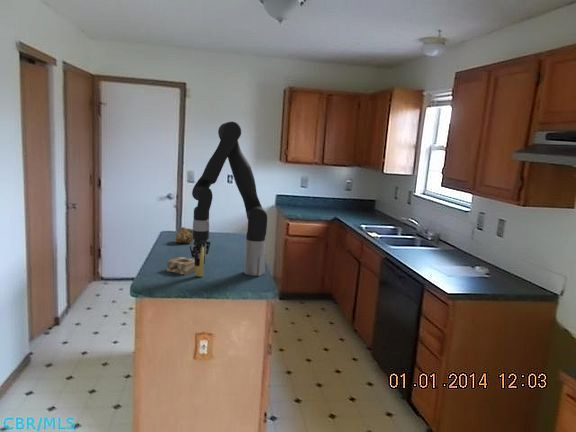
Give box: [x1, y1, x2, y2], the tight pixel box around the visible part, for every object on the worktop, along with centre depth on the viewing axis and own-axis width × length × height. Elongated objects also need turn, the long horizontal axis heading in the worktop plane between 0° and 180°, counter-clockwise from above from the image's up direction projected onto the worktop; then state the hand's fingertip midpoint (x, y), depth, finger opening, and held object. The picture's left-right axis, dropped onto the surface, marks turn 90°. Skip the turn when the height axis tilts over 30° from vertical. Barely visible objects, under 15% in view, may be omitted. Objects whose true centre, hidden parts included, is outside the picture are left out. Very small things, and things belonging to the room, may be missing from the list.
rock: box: [175, 226, 194, 244], centre depth 271 cm, size 12×10×10 cm
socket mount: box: [166, 256, 196, 276], centre depth 216 cm, size 11×14×5 cm
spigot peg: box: [194, 247, 205, 278], centre depth 209 cm, size 4×4×14 cm
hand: (199, 264), depth 209 cm, fingers closed on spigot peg, 3 cm apart
